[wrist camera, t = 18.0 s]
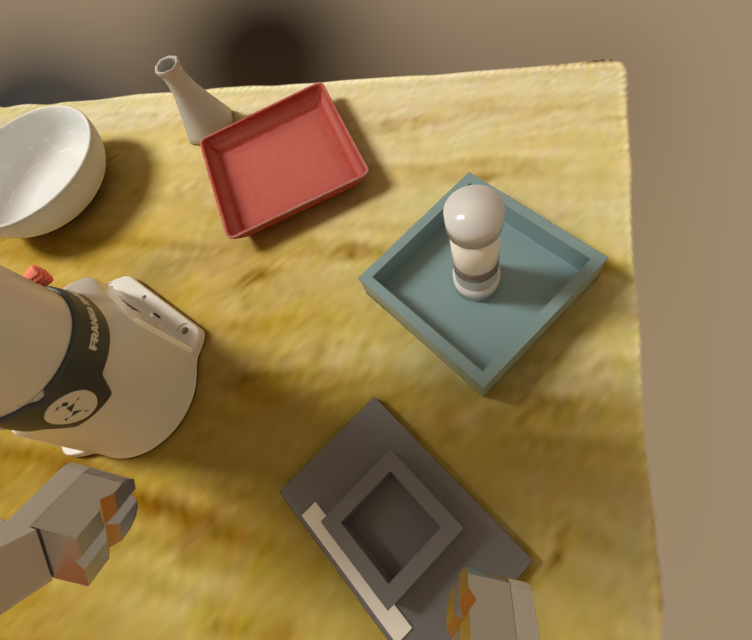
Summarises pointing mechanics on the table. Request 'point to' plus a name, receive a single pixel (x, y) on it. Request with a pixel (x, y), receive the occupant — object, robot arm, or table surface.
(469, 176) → the tray
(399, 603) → the board
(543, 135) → the table surface
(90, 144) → the serving bowl
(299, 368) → the table surface
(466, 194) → the cylinder
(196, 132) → the flask
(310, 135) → the plant saucer
